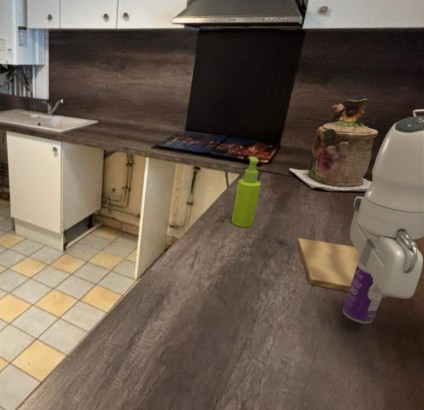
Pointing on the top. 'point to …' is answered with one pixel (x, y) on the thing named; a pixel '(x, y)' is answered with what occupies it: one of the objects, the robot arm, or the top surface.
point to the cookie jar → (341, 151)
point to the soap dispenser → (246, 196)
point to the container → (361, 291)
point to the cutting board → (329, 264)
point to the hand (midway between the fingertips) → (367, 287)
